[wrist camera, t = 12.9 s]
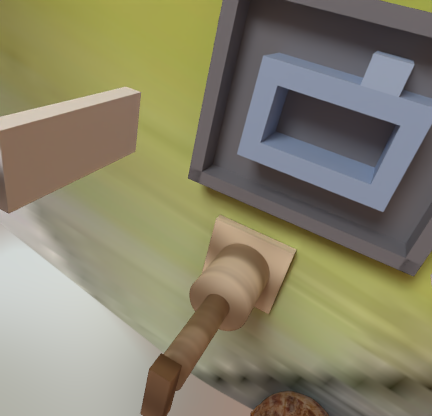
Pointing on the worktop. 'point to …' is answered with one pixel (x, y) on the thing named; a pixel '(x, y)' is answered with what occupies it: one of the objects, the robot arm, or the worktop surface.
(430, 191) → the tray
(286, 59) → the ring
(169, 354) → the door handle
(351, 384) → the worktop surface
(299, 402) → the seashell
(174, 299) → the worktop surface
